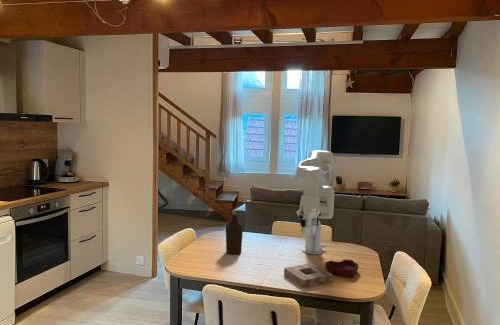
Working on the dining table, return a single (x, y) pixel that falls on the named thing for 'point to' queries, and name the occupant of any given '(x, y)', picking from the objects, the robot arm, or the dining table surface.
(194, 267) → the dining table surface
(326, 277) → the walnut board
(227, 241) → the olive oil
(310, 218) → the syrup box
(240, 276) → the dining table surface
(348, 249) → the dining table surface
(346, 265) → the ashtray
